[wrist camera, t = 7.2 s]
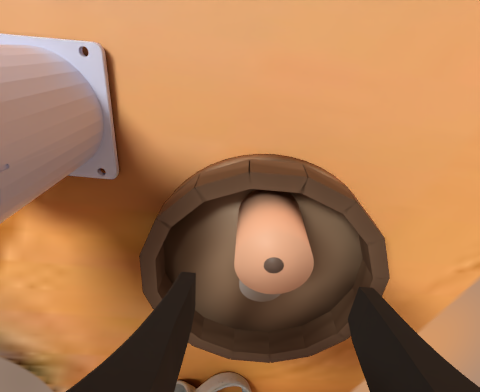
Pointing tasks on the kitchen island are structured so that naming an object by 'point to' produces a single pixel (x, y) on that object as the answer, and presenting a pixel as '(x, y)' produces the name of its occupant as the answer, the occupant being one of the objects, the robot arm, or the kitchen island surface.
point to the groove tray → (223, 254)
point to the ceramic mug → (215, 383)
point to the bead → (272, 243)
